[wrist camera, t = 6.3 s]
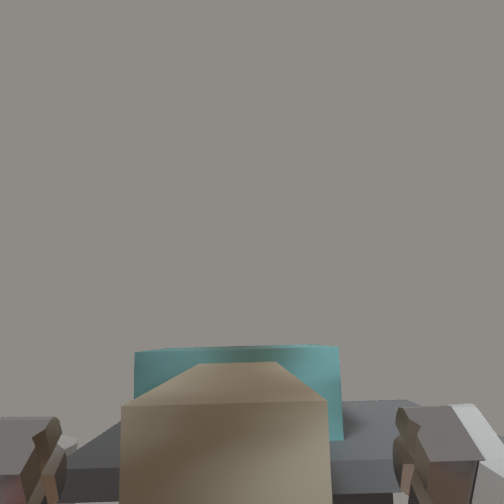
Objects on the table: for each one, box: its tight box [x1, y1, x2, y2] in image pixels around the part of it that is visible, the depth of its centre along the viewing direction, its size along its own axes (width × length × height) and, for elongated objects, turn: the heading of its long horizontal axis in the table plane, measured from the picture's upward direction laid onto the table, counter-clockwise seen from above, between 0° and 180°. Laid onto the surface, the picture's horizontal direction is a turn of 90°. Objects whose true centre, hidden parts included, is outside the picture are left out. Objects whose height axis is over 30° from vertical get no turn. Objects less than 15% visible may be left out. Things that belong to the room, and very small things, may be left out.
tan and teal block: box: [119, 344, 344, 504], centre depth 17 cm, size 8×20×4 cm, turn 1°
